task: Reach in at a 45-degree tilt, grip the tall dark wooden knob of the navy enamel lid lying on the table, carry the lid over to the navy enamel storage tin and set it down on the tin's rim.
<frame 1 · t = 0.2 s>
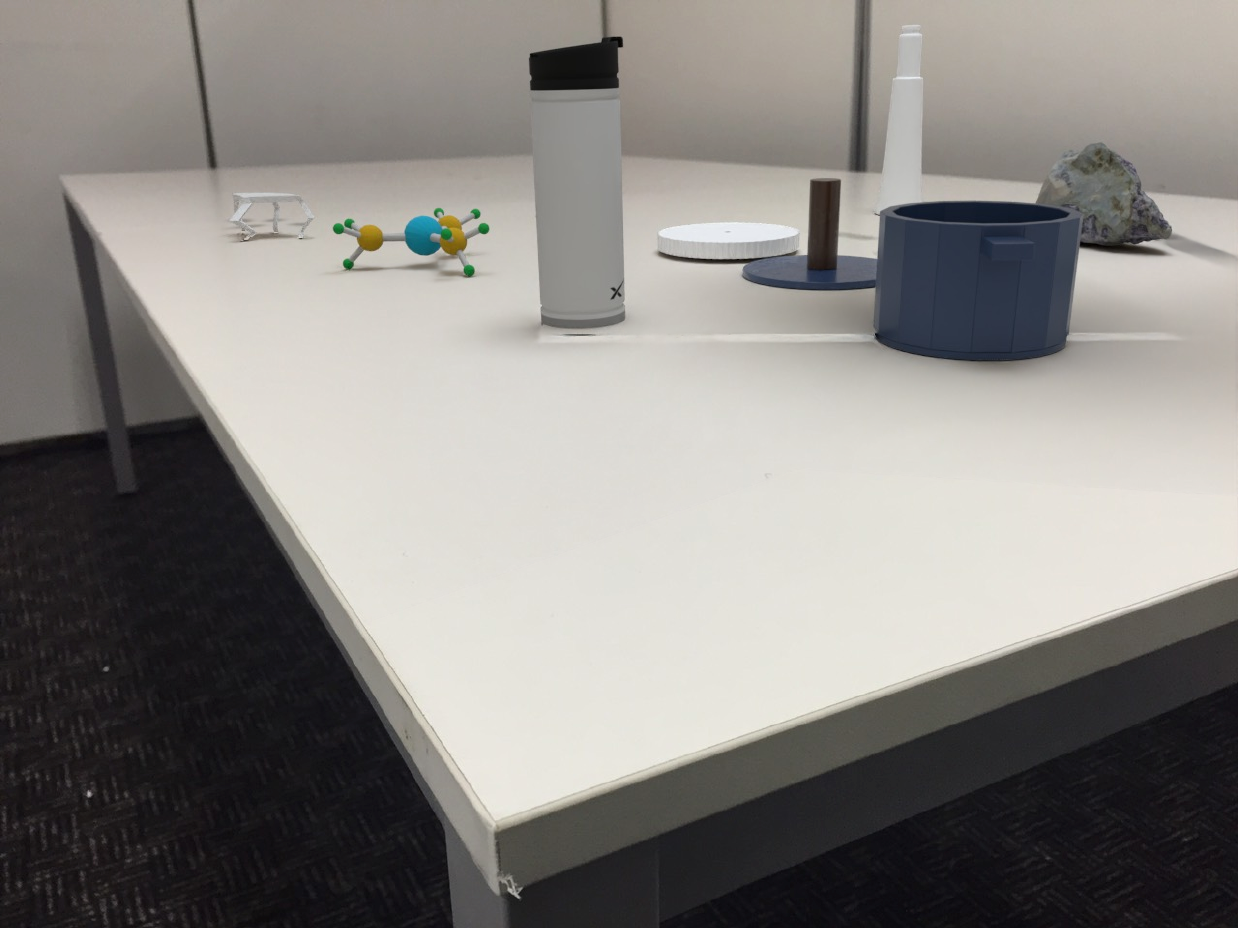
tin: (967, 337, 74), on the table
molecular model: (433, 269, 106), on the table
mineral rock: (1093, 247, 109), on the table
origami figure: (273, 238, 128), on the table
travel mug: (585, 328, 80), on the table
plastic lid: (727, 259, 107), on the table
tin lid: (821, 274, 94), point 1 cm above the table
cosmetic bottle: (899, 215, 135), on the table
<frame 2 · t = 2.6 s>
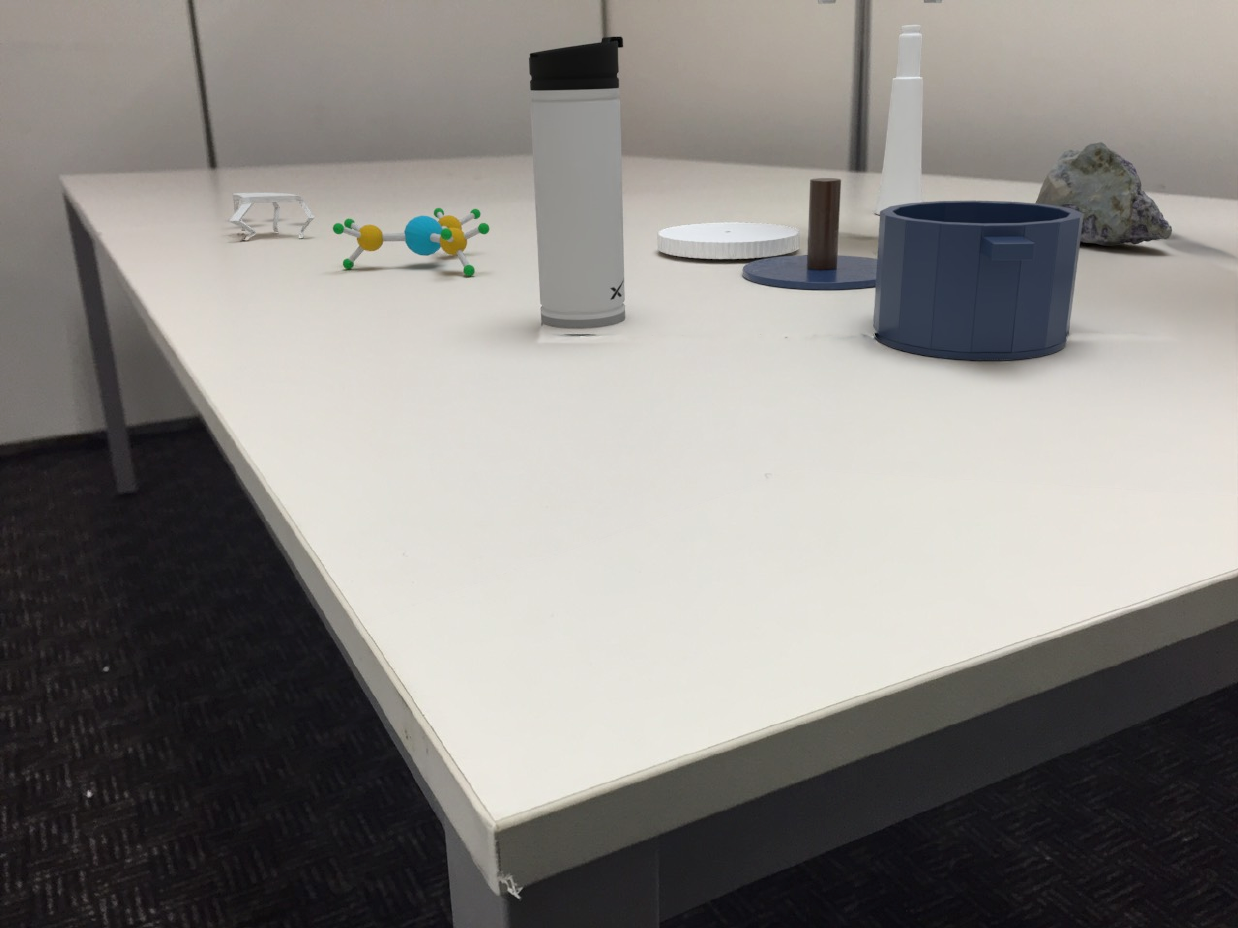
nothing on the table moved.
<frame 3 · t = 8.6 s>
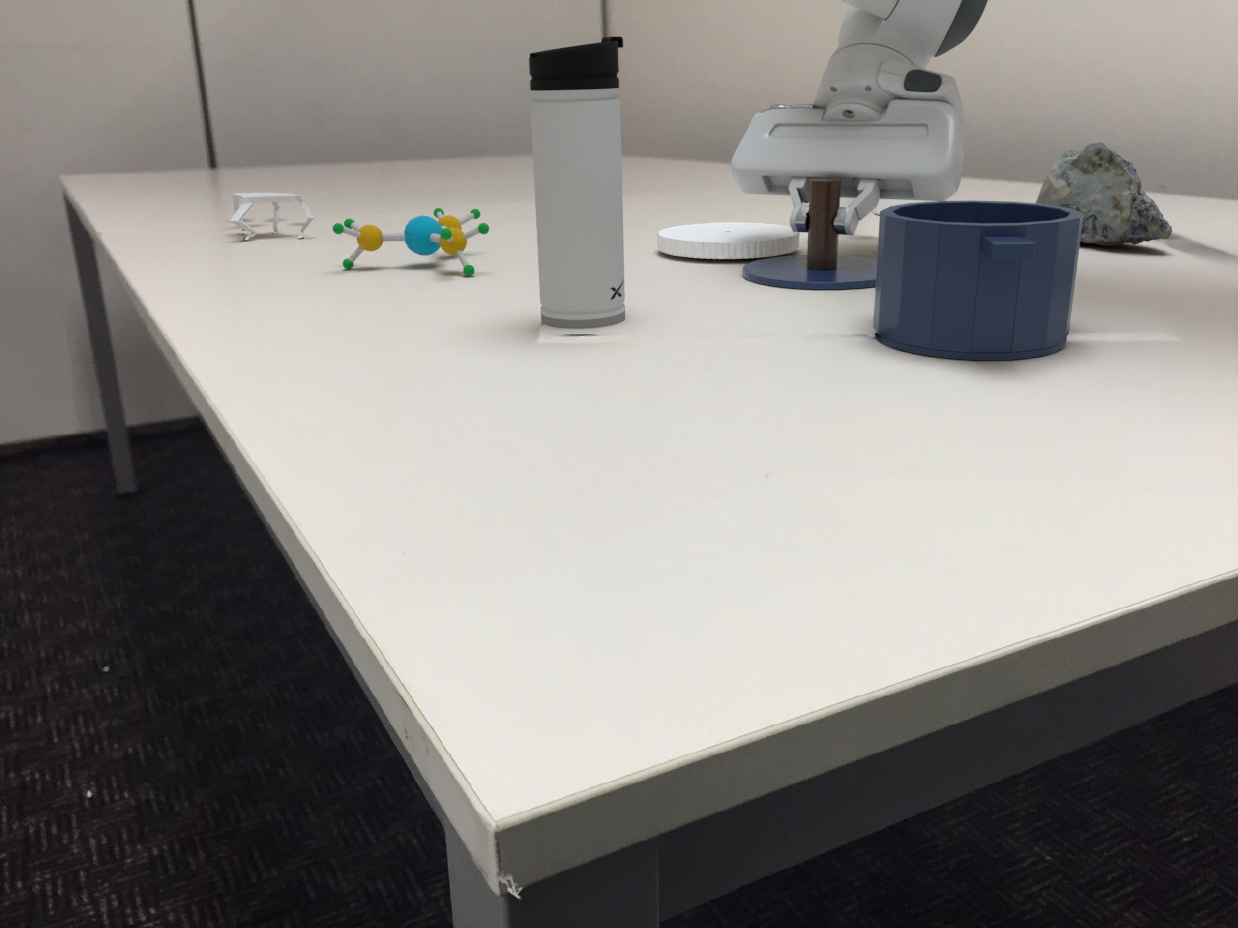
hand: (821, 229, 92), 5 cm above the table, tool tilted 45°, fingers closed on tin lid, 2 cm apart
tin lid: (821, 274, 94), point 1 cm above the table, touching gripper
everything else where it was.
when the fingers open (12 cm above the table, at t = 16.1 s): tin lid stays where it is, resting on tin.
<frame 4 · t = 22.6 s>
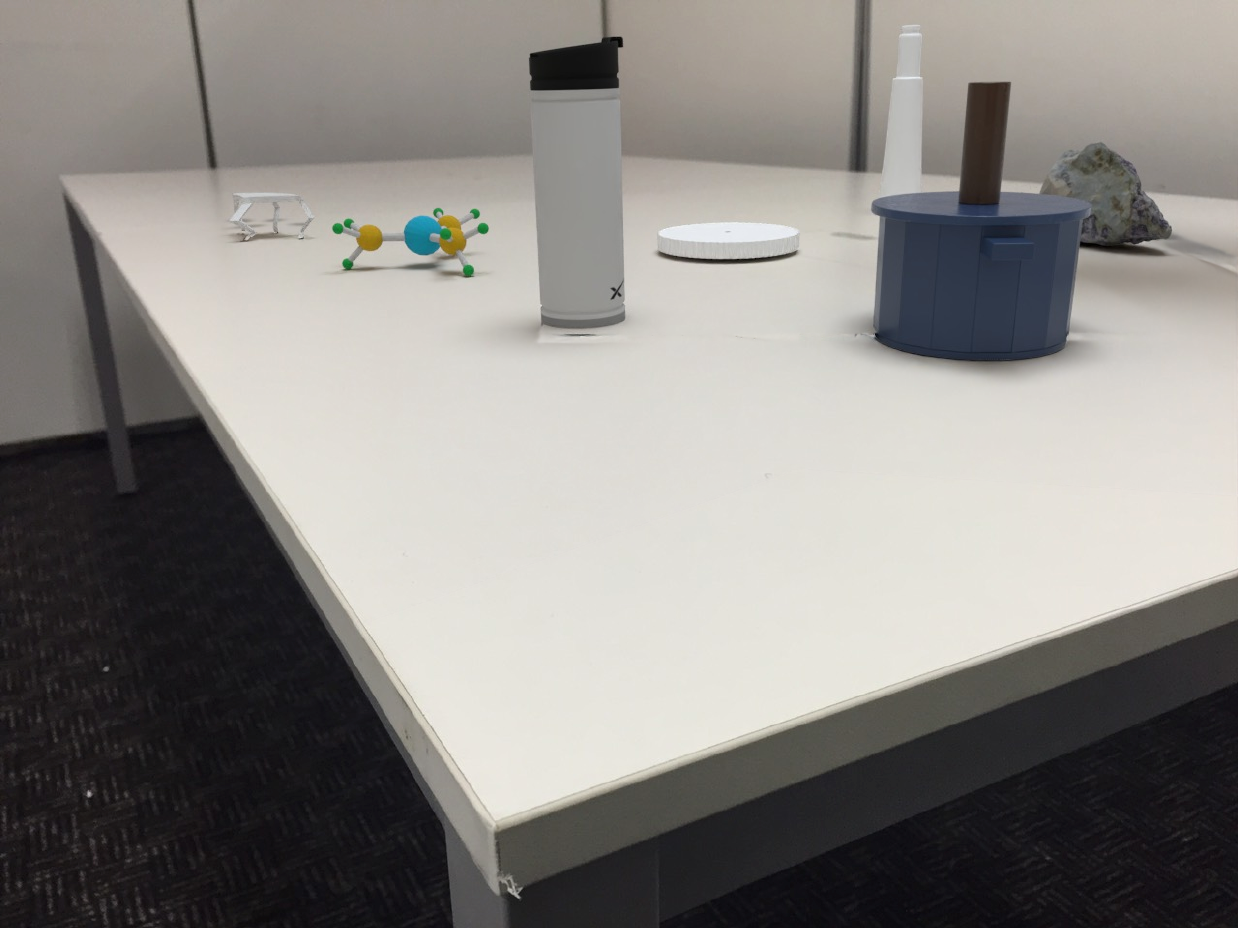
tin lid: (977, 211, 71), point 8 cm above the table, touching tin
everything else where it was.
at the end: tin lid 0.1 cm off-centre on the tin, point 8.5 cm above the tin's base; tin lid tilted 0° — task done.
